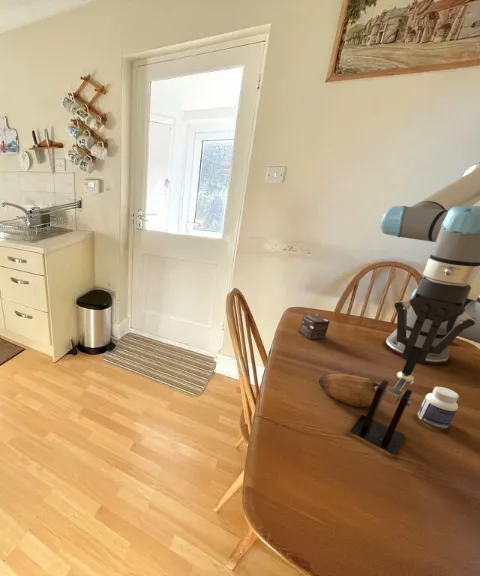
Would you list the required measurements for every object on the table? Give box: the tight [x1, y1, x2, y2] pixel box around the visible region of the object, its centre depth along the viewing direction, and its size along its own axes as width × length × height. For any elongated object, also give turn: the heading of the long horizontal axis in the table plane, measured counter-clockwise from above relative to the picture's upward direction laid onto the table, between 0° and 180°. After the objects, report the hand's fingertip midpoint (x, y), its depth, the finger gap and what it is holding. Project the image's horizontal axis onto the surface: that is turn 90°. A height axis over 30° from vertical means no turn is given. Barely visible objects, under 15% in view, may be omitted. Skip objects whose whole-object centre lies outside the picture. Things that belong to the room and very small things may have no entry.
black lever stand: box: [349, 379, 414, 455], centre depth 71 cm, size 9×8×14 cm
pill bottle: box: [416, 386, 460, 430], centre depth 75 cm, size 5×5×10 cm
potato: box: [318, 373, 380, 408], centre depth 83 cm, size 8×14×8 cm
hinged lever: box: [382, 371, 415, 406], centre depth 73 cm, size 15×3×3 cm, turn 127°
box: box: [298, 313, 330, 340], centre depth 117 cm, size 6×6×7 cm
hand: (407, 372), depth 75 cm, fingers closed
